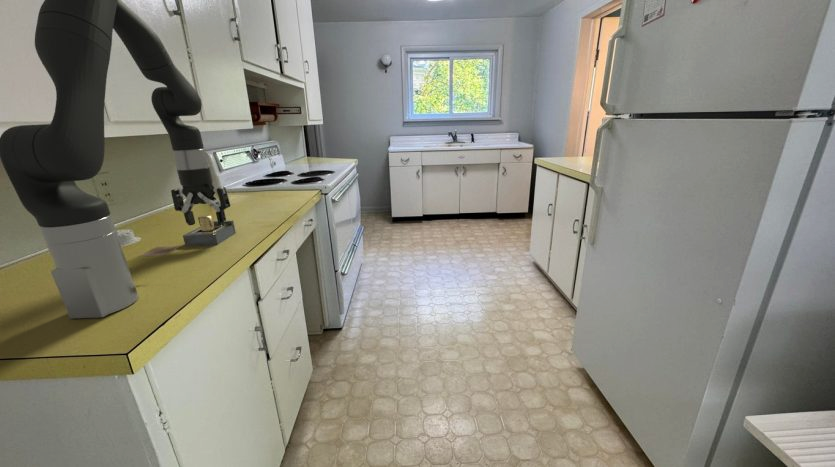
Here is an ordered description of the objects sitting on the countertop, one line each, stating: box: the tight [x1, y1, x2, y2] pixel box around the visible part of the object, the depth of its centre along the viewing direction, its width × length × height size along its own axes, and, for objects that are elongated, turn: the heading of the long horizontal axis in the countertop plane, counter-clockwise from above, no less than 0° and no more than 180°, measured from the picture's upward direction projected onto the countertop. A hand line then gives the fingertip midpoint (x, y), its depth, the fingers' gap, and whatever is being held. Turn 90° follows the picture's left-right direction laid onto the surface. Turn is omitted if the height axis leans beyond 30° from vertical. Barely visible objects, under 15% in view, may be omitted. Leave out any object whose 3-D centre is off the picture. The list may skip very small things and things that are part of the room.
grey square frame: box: [182, 220, 237, 247], centre depth 98 cm, size 10×9×5 cm
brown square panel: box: [137, 245, 182, 258], centre depth 91 cm, size 7×7×1 cm
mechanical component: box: [116, 228, 142, 248], centre depth 98 cm, size 10×4×10 cm
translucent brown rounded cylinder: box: [197, 214, 215, 232], centre depth 97 cm, size 3×3×8 cm
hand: (207, 224), depth 97 cm, fingers open, 8 cm apart
